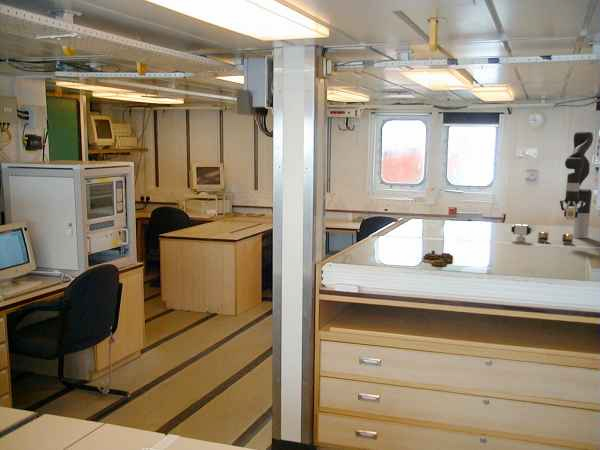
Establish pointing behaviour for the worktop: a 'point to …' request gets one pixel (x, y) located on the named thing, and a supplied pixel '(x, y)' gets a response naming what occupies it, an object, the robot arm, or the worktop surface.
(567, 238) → the pipe stubs
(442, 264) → the gear puzzle
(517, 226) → the pneumatic valve
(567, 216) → the block
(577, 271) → the worktop surface
